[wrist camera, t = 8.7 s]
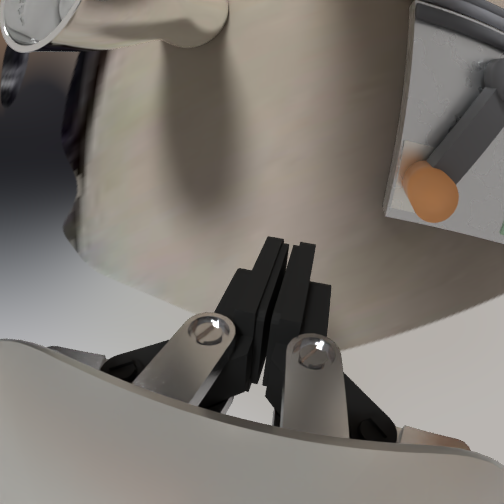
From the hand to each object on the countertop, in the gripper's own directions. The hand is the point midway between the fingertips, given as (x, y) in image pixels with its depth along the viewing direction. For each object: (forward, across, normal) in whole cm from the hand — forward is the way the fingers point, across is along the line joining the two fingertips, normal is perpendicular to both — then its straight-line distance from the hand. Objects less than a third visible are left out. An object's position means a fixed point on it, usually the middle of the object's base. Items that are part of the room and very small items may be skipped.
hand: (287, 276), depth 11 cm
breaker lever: (+12, -10, -6) cm, 17 cm away
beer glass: (+14, +10, -12) cm, 21 cm away
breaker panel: (+14, -13, -6) cm, 20 cm away
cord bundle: (+14, -13, -14) cm, 24 cm away
